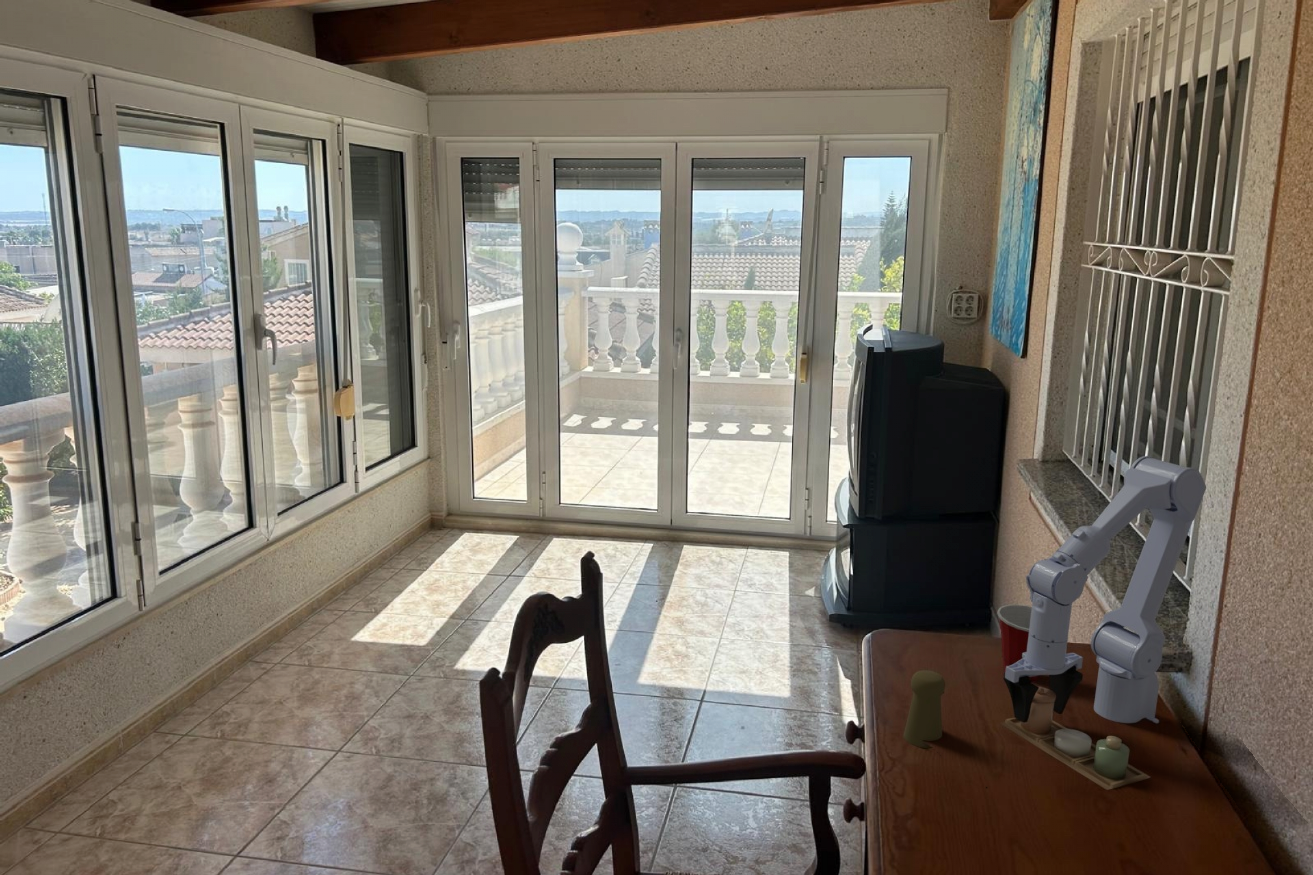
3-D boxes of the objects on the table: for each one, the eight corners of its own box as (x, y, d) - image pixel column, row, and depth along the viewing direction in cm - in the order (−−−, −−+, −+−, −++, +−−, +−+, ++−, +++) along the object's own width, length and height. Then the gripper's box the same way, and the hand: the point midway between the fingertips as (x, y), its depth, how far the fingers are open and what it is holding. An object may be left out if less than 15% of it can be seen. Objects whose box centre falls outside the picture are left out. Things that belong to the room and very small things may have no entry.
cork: (944, 750, 153) (950, 684, 150) (904, 745, 154) (909, 679, 152) (941, 731, 158) (947, 667, 156) (902, 726, 160) (908, 663, 157)
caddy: (1040, 720, 163) (1041, 710, 163) (1149, 784, 145) (1151, 773, 144) (999, 729, 160) (1000, 720, 159) (1106, 797, 141) (1107, 786, 141)
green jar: (1107, 760, 149) (1111, 729, 148) (1132, 775, 145) (1137, 743, 144) (1086, 766, 147) (1091, 735, 146) (1111, 781, 143) (1116, 749, 142)
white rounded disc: (1070, 737, 155) (1072, 726, 155) (1097, 753, 151) (1099, 741, 150) (1046, 743, 153) (1047, 732, 153) (1072, 760, 149) (1074, 748, 148)
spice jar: (1034, 717, 162) (1039, 678, 160) (1058, 731, 157) (1063, 691, 156) (1013, 723, 159) (1017, 684, 158) (1036, 737, 155) (1041, 696, 154)
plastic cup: (1024, 695, 172) (1032, 631, 170) (977, 671, 181) (984, 609, 179) (1066, 683, 177) (1074, 621, 175) (1018, 660, 187) (1025, 600, 184)
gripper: (1061, 620, 162) (1052, 696, 164) (994, 632, 155) (985, 711, 158) (1097, 636, 155) (1086, 715, 158) (1028, 649, 149) (1018, 732, 152)
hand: (1038, 715), depth 158 cm, fingers open, 7 cm apart
